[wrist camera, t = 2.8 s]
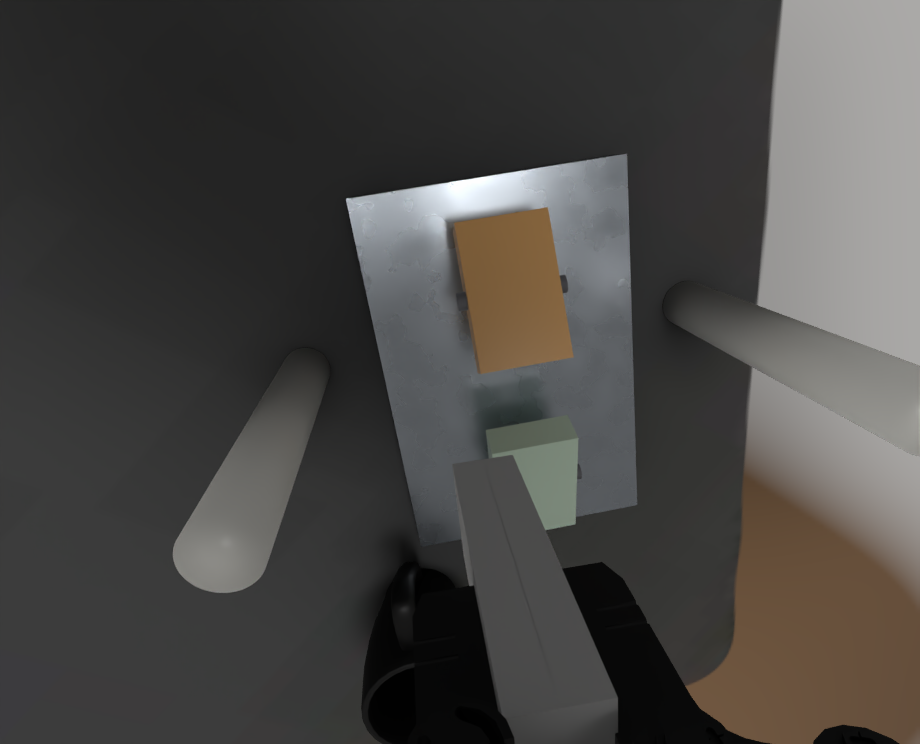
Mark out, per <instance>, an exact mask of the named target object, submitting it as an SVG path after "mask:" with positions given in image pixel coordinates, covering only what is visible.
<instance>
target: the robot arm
mask: <svg viewBox="0 0 920 744" xmlns="http://www.w3.org/2000/svg"><path fill="white" fill-rule="evenodd" d="M452 467H453V475H454V483H455V491H456V499H457V507H458V515H459V523H460V530H461V538H462V546H463V554H464V560H465V566H466V571H467V577H468V582H469V586H467V587H461V588H455V589H449V590H443V591H437V592H431V593H425V594H422V596H421V598H420V601H419V603H418V605H417V607H416V610H415V612H414V614H413V616H412V620H413V643H414V646H413V648H414V676H415V704H416V725H415V727H414V728H413V730H412V732H411V734H410V735H409V737H408V743H407V744H770V743H763V742H759V741H755V740H750V739H746V738H743V737H741V736H739V735H736V734H734V733H732V732H730V731H728V730H726V729H725V727H724V726H723V725H722V724H721V723H720V722H718V721H717V720H715V719H714V718H713V717H711V716H710V715H708V714H707V713H705V712H704V711H702V710H701V709H700V708H699V707H698V705H697V704H696V703H695V701H694V700H693V698H692V697H691V696H690V694H689V692H688V690H687V689H686V687H685V685H684V683H683V682H682V680H681V678H680V677H679V675H678V673H677V671H676V670H675V668H674V666H673V664H672V663H671V661H670V659H669V658H668V656H667V654H666V652H665V651H664V649H663V647H662V645H661V644H660V642H659V640H658V638H657V637H656V635H655V633H654V632H653V630H652V628H651V626H650V625H649V624H647V621H646V618H645V616H644V614H643V613H642V611H641V609H640V607H639V606H638V605H637V604H636V600H635V599H634V597H633V595H632V593H631V592H630V590H629V588H628V587H627V585H626V583H625V581H624V580H623V578H621V577H620V576H619V575H618V574H616V573H615V572H614V571H613V570H611V569H610V568H609V567H608V566H606V565H605V564H604V563H603V562H600V563H594V564H588V565H582V566H576V567H570V568H564V569H562V568H561V565H560V563H559V561H558V558H557V556H556V554H555V551H554V549H553V547H552V544H551V542H550V540H549V538H548V535H547V533H546V531H545V528H544V526H543V524H542V521H541V519H540V517H539V514H538V512H537V510H536V508H535V505H534V503H533V501H532V498H531V496H530V494H529V491H528V489H527V487H526V484H525V482H524V480H523V477H522V475H521V473H520V471H519V468H518V466H517V464H516V461H515V459H514V457H513V455H508V456H501V457H495V458H488V459H481V460H475V461H468V462H461V463H455V464H452ZM813 744H899V743H897V742H896V741H894V740H893V739H891V738H889V737H887V736H884V735H882V734H879V733H877V732H874V731H872V730H869V729H867V728H862V727H854V726H847V725H840V726H836V727H832V728H828V729H824V731H823V732H822V733H821V734H820V735H819V736H818V737H817V738H816V739H815V740H814V742H813Z"/></svg>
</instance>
